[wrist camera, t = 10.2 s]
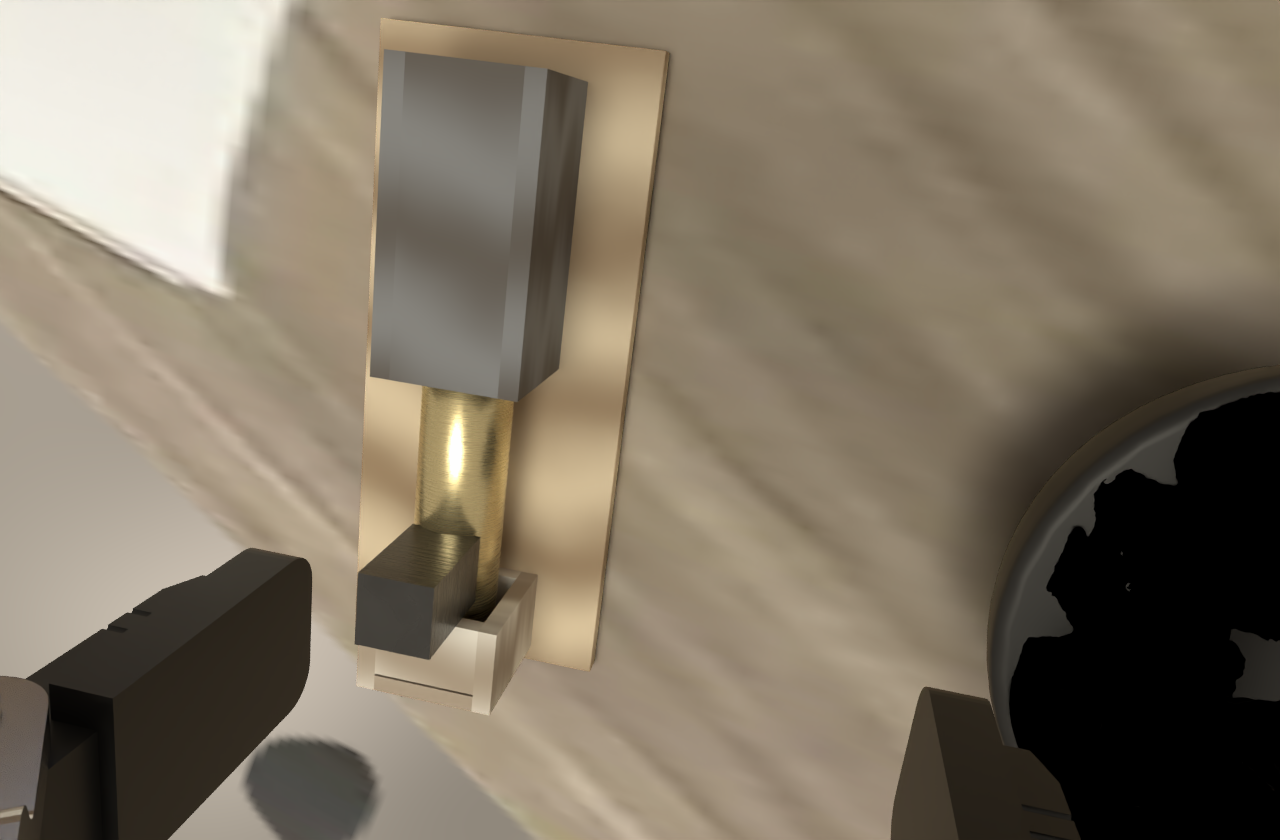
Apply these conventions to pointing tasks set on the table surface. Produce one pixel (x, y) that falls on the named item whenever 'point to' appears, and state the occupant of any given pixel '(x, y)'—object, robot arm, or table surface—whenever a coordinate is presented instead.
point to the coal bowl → (1153, 620)
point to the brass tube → (442, 530)
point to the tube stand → (507, 316)
